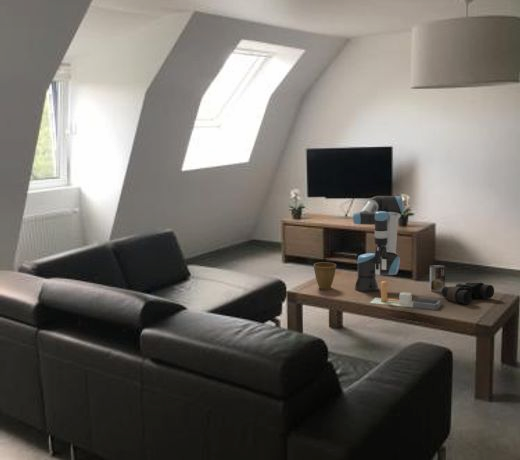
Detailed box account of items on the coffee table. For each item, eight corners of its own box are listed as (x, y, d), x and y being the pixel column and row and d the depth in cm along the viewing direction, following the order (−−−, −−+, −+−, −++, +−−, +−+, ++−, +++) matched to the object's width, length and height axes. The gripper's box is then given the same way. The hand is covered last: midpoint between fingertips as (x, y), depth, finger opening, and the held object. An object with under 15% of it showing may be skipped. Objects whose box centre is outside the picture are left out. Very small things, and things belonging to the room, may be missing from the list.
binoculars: (463, 306, 360) (463, 290, 359) (436, 301, 377) (435, 285, 376) (494, 298, 376) (494, 282, 375) (466, 294, 393) (466, 278, 392)
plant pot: (310, 289, 407) (310, 266, 404) (317, 284, 420) (317, 261, 418) (332, 291, 401) (332, 267, 398) (338, 286, 415) (338, 263, 412)
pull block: (379, 302, 373) (379, 282, 371) (382, 299, 378) (382, 280, 376) (409, 305, 365) (409, 285, 363) (411, 302, 370) (411, 283, 368)
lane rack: (369, 303, 372) (369, 297, 372) (375, 298, 383) (375, 292, 382) (437, 311, 354) (437, 304, 354) (441, 305, 365) (441, 299, 364)
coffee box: (443, 289, 401) (444, 265, 398) (445, 291, 394) (446, 267, 392) (429, 289, 402) (429, 265, 399) (430, 291, 395) (431, 267, 393)
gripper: (381, 241, 356) (381, 277, 360) (392, 234, 378) (392, 268, 382) (368, 240, 360) (368, 276, 363) (380, 233, 382) (380, 267, 385)
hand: (380, 272), depth 372 cm, fingers open, 13 cm apart
